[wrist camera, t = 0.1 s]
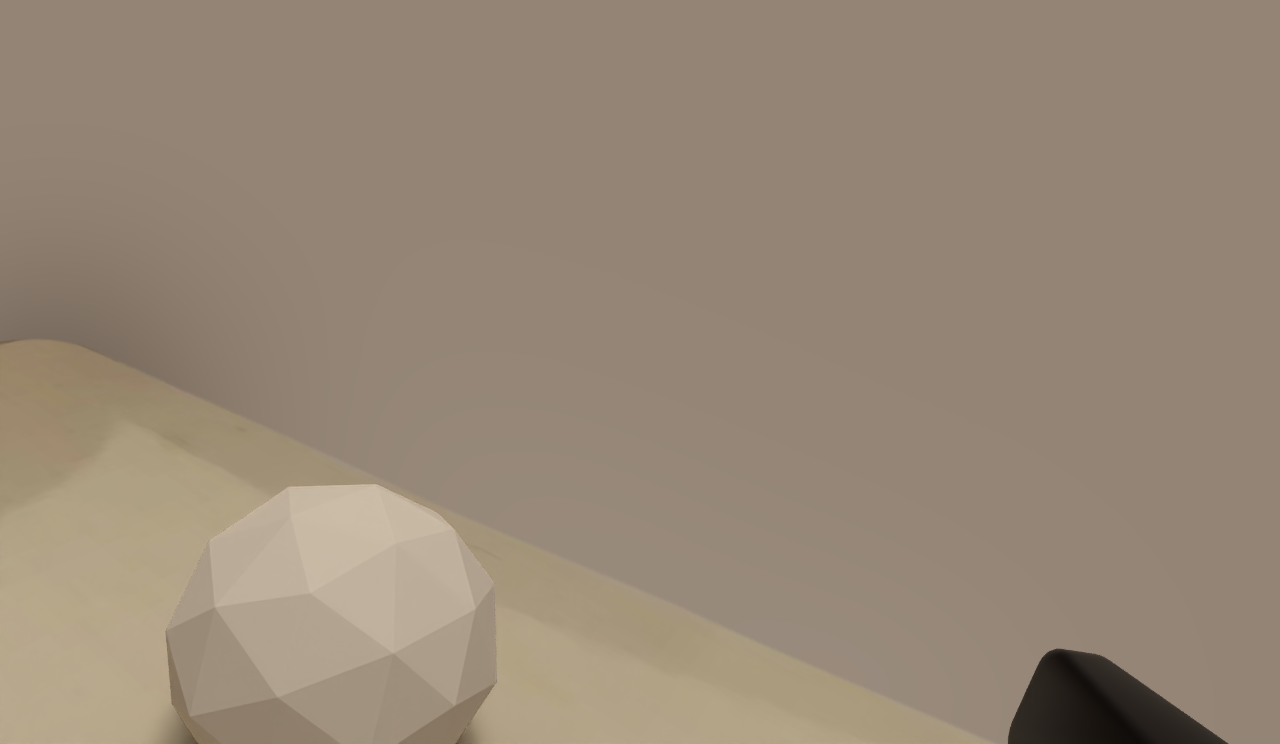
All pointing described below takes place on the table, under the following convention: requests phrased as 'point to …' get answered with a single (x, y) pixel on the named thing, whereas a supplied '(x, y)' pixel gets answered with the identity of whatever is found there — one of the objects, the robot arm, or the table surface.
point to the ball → (334, 625)
